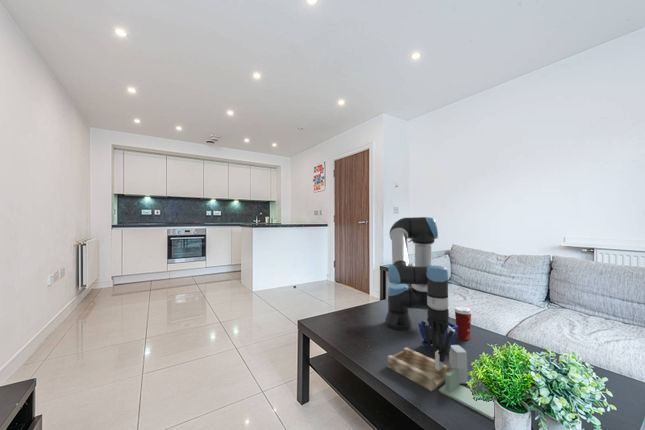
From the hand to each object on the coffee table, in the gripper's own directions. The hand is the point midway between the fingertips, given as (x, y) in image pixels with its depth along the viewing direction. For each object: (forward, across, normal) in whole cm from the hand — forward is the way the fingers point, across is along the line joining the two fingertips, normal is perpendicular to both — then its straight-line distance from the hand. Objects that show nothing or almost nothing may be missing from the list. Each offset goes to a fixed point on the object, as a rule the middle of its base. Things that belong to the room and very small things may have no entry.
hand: (439, 368), depth 101 cm
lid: (+6, +11, 0) cm, 13 cm away
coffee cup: (+6, -12, +47) cm, 49 cm away
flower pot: (+6, -14, +25) cm, 30 cm away
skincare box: (+6, +3, +8) cm, 10 cm away
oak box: (+6, -9, 0) cm, 11 cm away
